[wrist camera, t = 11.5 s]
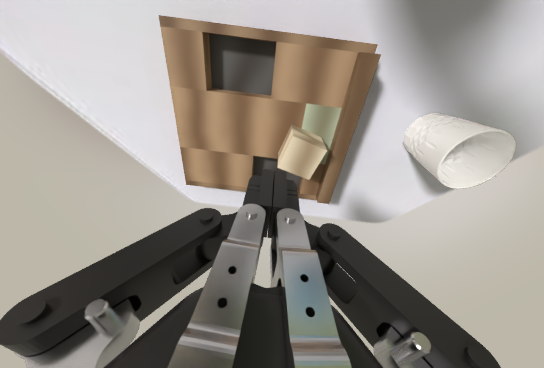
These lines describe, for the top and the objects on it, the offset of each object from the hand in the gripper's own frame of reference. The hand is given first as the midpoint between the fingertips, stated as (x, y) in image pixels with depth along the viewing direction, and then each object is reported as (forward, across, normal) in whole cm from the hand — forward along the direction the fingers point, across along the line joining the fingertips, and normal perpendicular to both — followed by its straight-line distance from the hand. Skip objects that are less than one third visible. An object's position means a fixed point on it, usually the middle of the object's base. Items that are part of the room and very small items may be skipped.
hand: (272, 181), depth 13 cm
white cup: (+21, -24, +1) cm, 32 cm away
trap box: (+22, +2, +3) cm, 22 cm away
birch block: (+18, -4, +5) cm, 19 cm away
